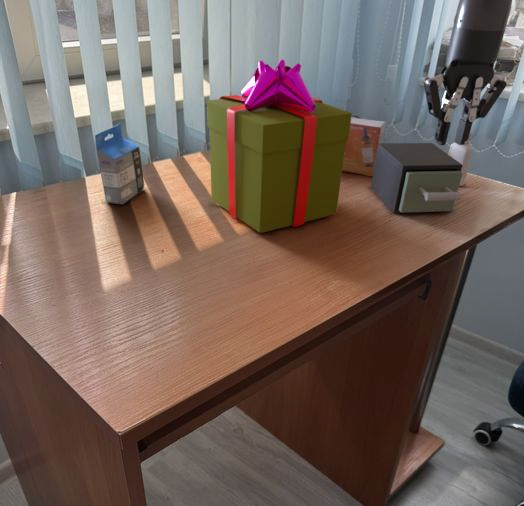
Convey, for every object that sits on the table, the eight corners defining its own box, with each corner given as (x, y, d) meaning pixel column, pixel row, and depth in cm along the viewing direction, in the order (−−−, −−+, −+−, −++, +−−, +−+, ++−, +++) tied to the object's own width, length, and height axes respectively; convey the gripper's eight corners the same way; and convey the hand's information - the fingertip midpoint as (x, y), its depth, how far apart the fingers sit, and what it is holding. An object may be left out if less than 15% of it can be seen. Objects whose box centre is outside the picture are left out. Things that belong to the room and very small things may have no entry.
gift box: (271, 182, 110) (277, 47, 95) (349, 213, 99) (370, 65, 83) (195, 206, 98) (188, 57, 83) (273, 244, 87) (282, 79, 72)
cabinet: (450, 211, 101) (462, 164, 96) (393, 213, 99) (403, 165, 94) (422, 186, 112) (432, 142, 106) (370, 187, 110) (378, 143, 104)
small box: (337, 171, 117) (344, 121, 111) (344, 163, 122) (350, 116, 115) (372, 176, 115) (381, 127, 109) (377, 169, 120) (386, 120, 113)
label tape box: (122, 205, 98) (113, 137, 90) (103, 202, 98) (93, 134, 91) (145, 189, 104) (138, 125, 97) (127, 186, 105) (119, 122, 98)
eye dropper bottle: (461, 179, 116) (476, 122, 109) (464, 187, 112) (480, 129, 105) (441, 177, 117) (455, 120, 110) (443, 185, 112) (458, 127, 105)
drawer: (463, 221, 95) (475, 182, 91) (410, 223, 94) (419, 183, 89) (425, 187, 109) (434, 151, 104) (378, 188, 107) (385, 152, 103)
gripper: (447, 27, 74) (420, 151, 85) (535, 29, 76) (498, 150, 87) (425, 21, 80) (402, 137, 90) (508, 23, 82) (477, 137, 93)
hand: (450, 143), depth 89 cm, fingers open, 3 cm apart
